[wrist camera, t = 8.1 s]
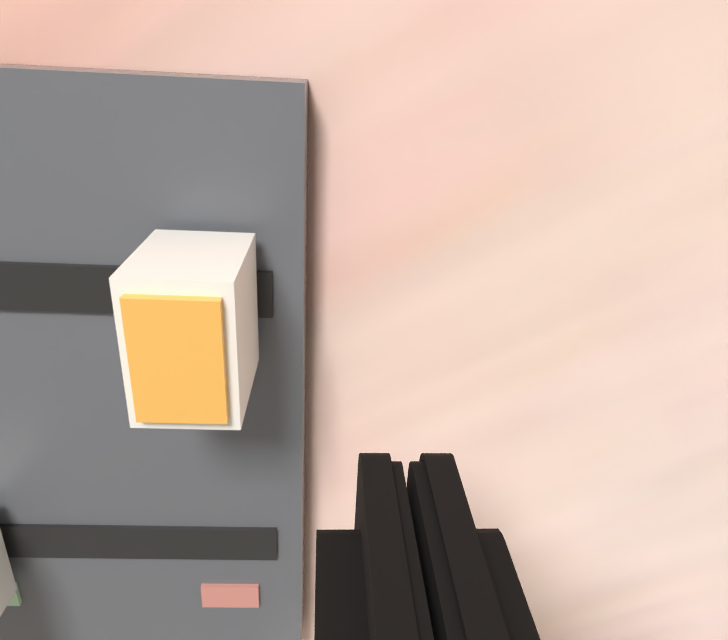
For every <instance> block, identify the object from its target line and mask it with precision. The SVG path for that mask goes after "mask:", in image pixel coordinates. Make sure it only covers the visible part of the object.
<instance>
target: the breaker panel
mask: <svg viewBox="0 0 728 640" xmlns="http://www.w3.org/2000/svg"><path fill="white" fill-rule="evenodd" d="M307 118H308V79H288V78H269V77H249V76H230V75H211V74H191V73H172V72H152V71H133V70H113V69H94V68H75V67H55V66H36V65H16V64H0V529H1V533H2V537H3V540H4V544H5V547H6V551H7V554H8V558H9V562H10V565H11V569H12V572H13V576H14V579H15V583H16V587H17V589H16V591H15V593H14V595H13V596H12V598H11V600H10V601H9V603H8V605H7V606H6V608H5V610H4V612H3V613H2V615H1V617H0V640H302V626H303V561H304V450H305V339H306V229H307ZM155 229H161V230H187V231H213V232H239V233H255V238H256V272H257V307H258V341H259V361H258V365H257V369H256V373H255V377H254V381H253V385H252V388H251V392H250V396H249V400H248V404H247V408H246V412H245V416H244V420H243V423H242V427H241V430H206V429H161V428H130V423H129V416H128V409H127V402H126V395H125V388H124V381H123V374H122V367H121V360H120V353H119V346H118V339H117V332H116V325H115V318H114V311H113V304H112V297H111V290H110V283H109V277H110V276H111V275H112V274H113V273H114V272H115V271H116V270H117V269H118V268H119V267H120V266H121V265H122V264H123V263H124V261H125V260H126V259H127V258H128V257H129V256H130V255H131V254H132V253H133V252H134V251H135V250H136V249H137V248H138V247H139V246H140V245H141V244H142V243H143V242H144V241H145V240H146V239H147V238H148V236H149V235H150V234H151V233H152V232H153V231H154V230H155Z"/></svg>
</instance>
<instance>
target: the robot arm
mask: <svg viewBox="0 0 728 640" xmlns="http://www.w3.org/2000/svg"><path fill="white" fill-rule="evenodd" d="M315 640H540V638H539V635H538V632H537V629H536V626H535V624H534V621H533V618H532V615H531V612H530V610H529V607H528V604H527V601H526V598H525V595H524V593H523V590H522V587H521V584H520V581H519V579H518V576H517V573H516V570H515V567H514V565H513V562H512V559H511V556H510V553H509V551H508V548H507V545H506V542H505V539H504V537H503V535H502V533H501V532H500V531H499V529H476V528H475V524H474V521H473V518H472V514H471V511H470V508H469V505H468V501H467V498H466V495H465V492H464V488H463V485H462V482H461V479H460V475H459V472H458V469H457V466H456V462H455V459H454V456H453V455H452V454H451V453H422V454H421V456H420V460H419V461H411V462H410V463H409V468H408V478H407V488H406V482H405V477H404V471H403V466H402V462H401V461H391V457H390V454H389V453H360V454H359V460H358V477H357V494H356V512H355V529H354V530H317V534H316V583H315Z"/></svg>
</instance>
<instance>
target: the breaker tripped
mask: <svg viewBox="0 0 728 640" xmlns="http://www.w3.org/2000/svg"><path fill="white" fill-rule="evenodd" d="M109 283H110V290H111V297H112V304H113V311H114V318H115V325H116V332H117V339H118V346H119V353H120V360H121V367H122V374H123V381H124V388H125V395H126V402H127V409H128V416H129V423H130V428H161V429H206V430H241V427H242V423H243V420H244V416H245V412H246V408H247V404H248V400H249V396H250V392H251V388H252V385H253V381H254V377H255V373H256V369H257V365H258V361H259V341H258V307H257V272H256V238H255V233H239V232H213V231H187V230H161V229H155V230H154V231H153V232H152V233H151V234H150V235H149V236H148V238H147V239H146V240H145V241H144V242H143V243H142V244H141V245H140V246H139V247H138V248H137V249H136V250H135V251H134V252H133V253H132V254H131V255H130V256H129V257H128V258H127V259H126V260H125V261H124V263H123V264H122V265H121V266H120V267H119V268H118V269H117V270H116V271H115V272H114V273H113V274H112V275H111V276H110V277H109Z"/></svg>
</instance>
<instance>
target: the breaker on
mask: <svg viewBox="0 0 728 640" xmlns="http://www.w3.org/2000/svg"><path fill="white" fill-rule="evenodd" d="M16 589H17V587H16V583H15V579H14V576H13V572H12V569H11V565H10V562H9V558H8V554H7V551H6V547H5V544H4V540H3V537H2V533H1V529H0V617H1V615H2V613H3V612H4V610H5V608H6V606H7V605H8V603H9V601H10V600H11V598H12V596H13V595H14V593H15V591H16Z"/></svg>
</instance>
